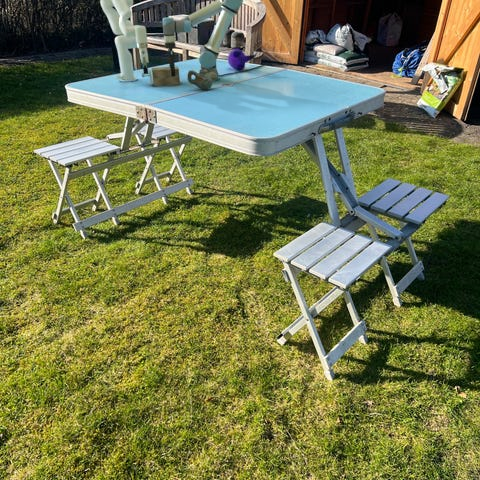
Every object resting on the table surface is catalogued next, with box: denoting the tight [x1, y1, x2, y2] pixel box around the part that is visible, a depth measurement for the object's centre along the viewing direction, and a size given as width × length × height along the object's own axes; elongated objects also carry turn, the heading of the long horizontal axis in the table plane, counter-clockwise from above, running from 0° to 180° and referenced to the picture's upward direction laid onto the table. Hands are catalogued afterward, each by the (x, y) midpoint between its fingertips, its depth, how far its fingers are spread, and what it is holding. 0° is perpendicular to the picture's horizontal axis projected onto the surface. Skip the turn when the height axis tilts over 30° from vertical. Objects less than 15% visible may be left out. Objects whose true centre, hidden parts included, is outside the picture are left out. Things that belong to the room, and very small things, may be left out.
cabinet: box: [151, 65, 181, 88], centre depth 325 cm, size 19×11×11 cm, turn 103°
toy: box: [227, 48, 258, 72], centre depth 368 cm, size 16×18×27 cm
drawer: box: [141, 69, 154, 86], centre depth 324 cm, size 23×10×9 cm, turn 103°
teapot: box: [187, 66, 218, 91], centre depth 306 cm, size 21×12×15 cm, turn 109°
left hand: (146, 73), depth 320 cm, fingers closed
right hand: (172, 75), depth 325 cm, fingers closed on cabinet, 11 cm apart
